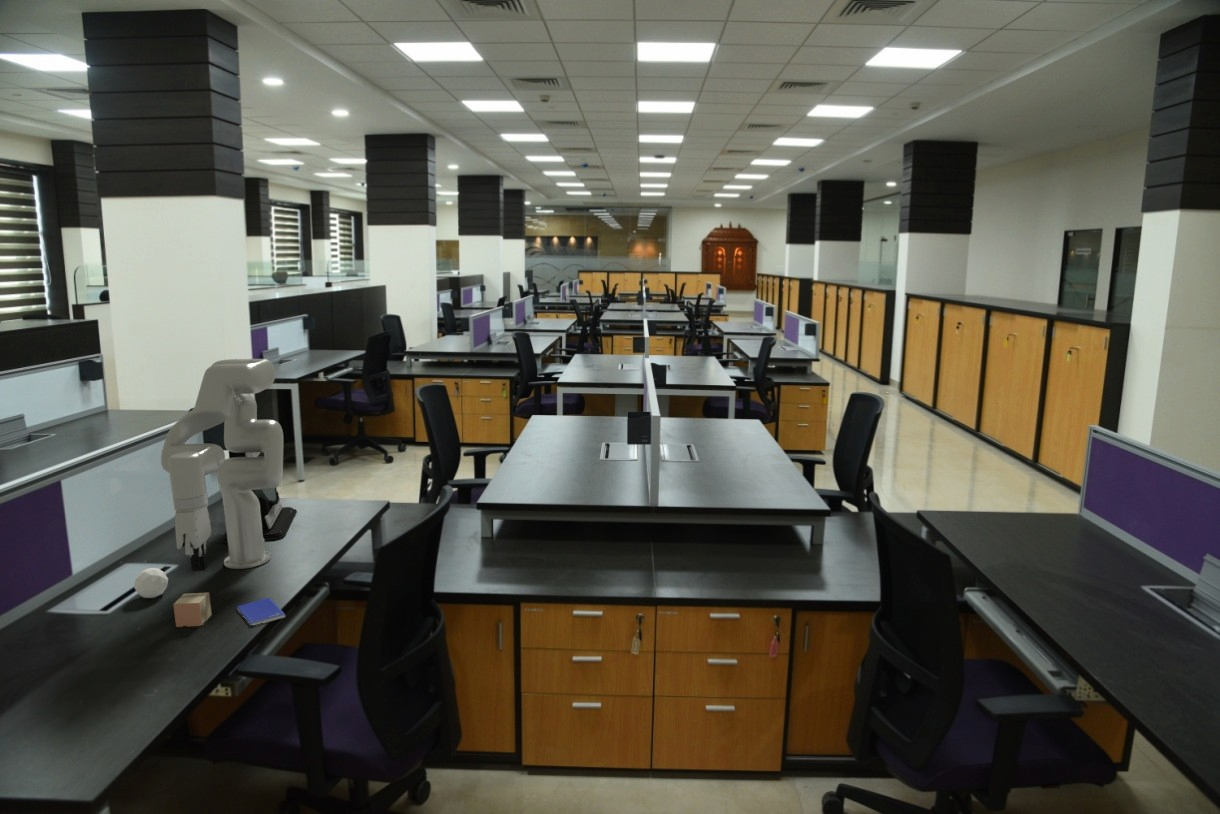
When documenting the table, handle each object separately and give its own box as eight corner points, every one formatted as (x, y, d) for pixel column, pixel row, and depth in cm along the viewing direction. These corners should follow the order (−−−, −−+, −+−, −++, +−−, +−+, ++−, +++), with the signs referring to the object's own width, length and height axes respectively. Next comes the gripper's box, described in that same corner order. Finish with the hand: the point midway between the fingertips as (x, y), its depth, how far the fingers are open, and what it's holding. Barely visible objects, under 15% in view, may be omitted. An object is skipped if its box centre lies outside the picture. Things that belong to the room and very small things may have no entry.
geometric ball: (159, 607, 208) (159, 590, 203) (128, 598, 207) (127, 582, 202) (173, 583, 214) (173, 567, 209) (143, 575, 213) (142, 558, 208)
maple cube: (184, 593, 196) (173, 604, 190) (209, 592, 196) (199, 603, 191) (186, 616, 197) (176, 627, 191) (211, 614, 198) (201, 625, 192)
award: (283, 540, 249) (274, 449, 243) (219, 545, 245) (209, 453, 239) (298, 510, 278) (290, 428, 272) (241, 514, 274) (232, 431, 268)
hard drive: (285, 613, 196) (270, 597, 205) (250, 623, 191) (236, 605, 200) (285, 619, 196) (270, 602, 206) (251, 629, 191) (237, 611, 200)
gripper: (187, 491, 201) (196, 558, 205) (161, 512, 187) (171, 583, 191) (218, 490, 202) (226, 556, 206) (194, 511, 188) (203, 581, 192)
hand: (200, 569), depth 199 cm, fingers closed
